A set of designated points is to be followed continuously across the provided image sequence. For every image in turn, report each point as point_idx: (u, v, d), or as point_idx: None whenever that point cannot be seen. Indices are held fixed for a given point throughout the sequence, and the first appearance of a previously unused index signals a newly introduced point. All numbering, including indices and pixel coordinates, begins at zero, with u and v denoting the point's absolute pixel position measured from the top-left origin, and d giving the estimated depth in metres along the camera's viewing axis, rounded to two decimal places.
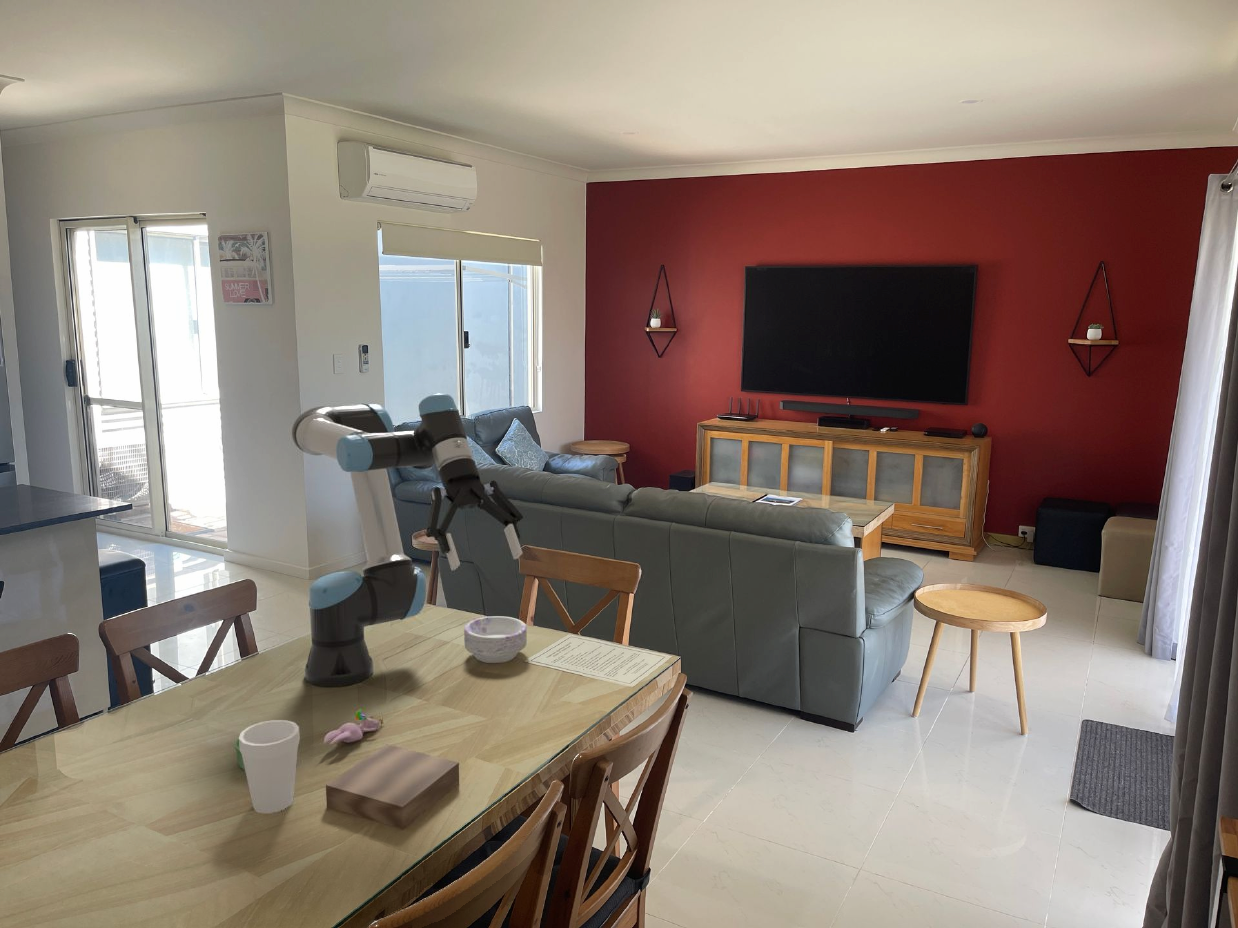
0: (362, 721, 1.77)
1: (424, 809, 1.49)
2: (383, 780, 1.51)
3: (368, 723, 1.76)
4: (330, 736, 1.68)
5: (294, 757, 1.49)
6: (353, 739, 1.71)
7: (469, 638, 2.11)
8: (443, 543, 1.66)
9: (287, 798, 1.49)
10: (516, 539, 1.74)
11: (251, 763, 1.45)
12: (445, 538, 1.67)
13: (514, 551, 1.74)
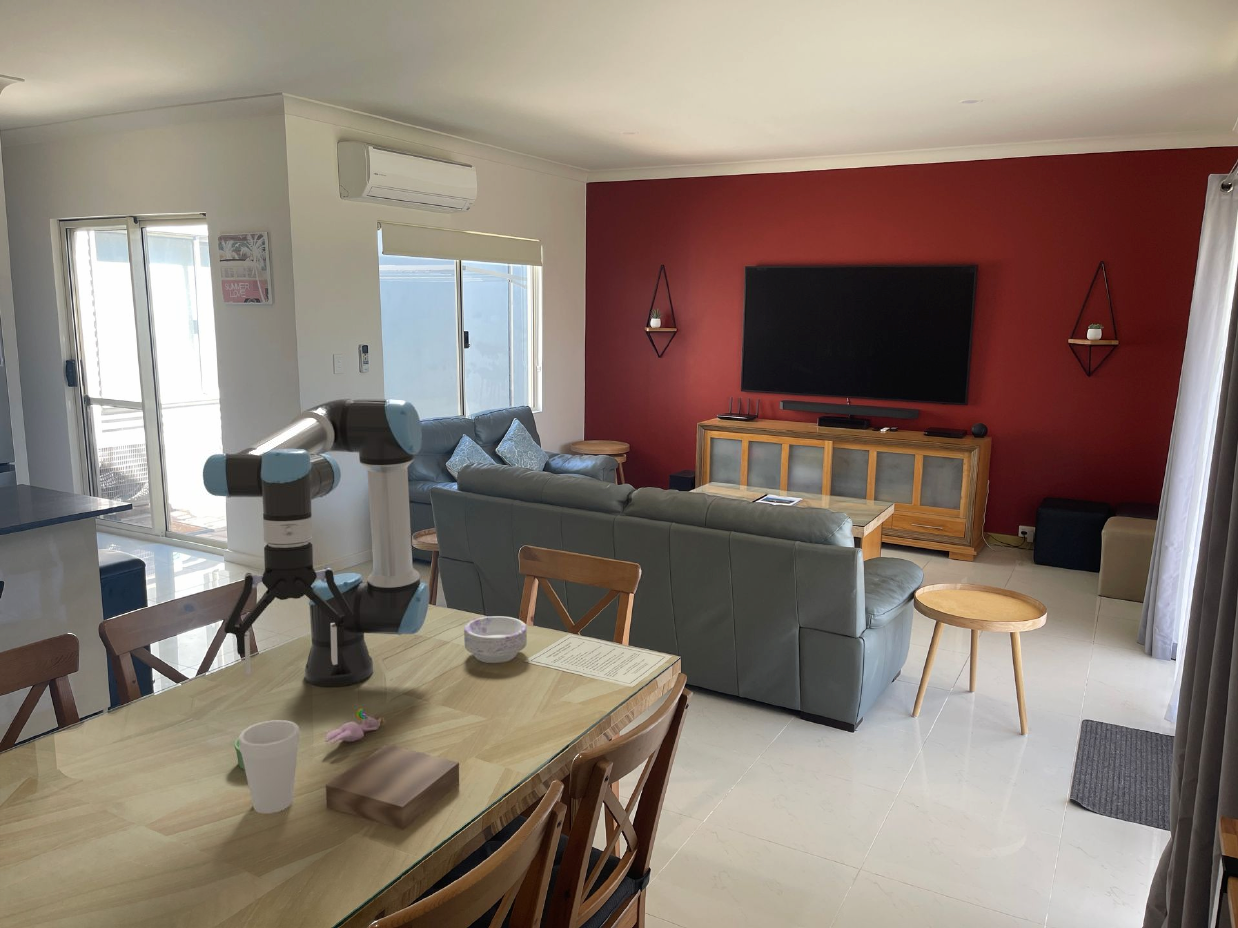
0: (363, 720, 1.77)
1: (424, 809, 1.49)
2: (383, 780, 1.51)
3: (369, 722, 1.76)
4: (332, 735, 1.69)
5: (294, 757, 1.49)
6: (354, 738, 1.71)
7: (469, 638, 2.11)
8: (238, 645, 1.44)
9: (287, 798, 1.49)
10: (335, 646, 1.49)
11: (251, 763, 1.45)
12: (242, 639, 1.44)
13: (331, 655, 1.50)
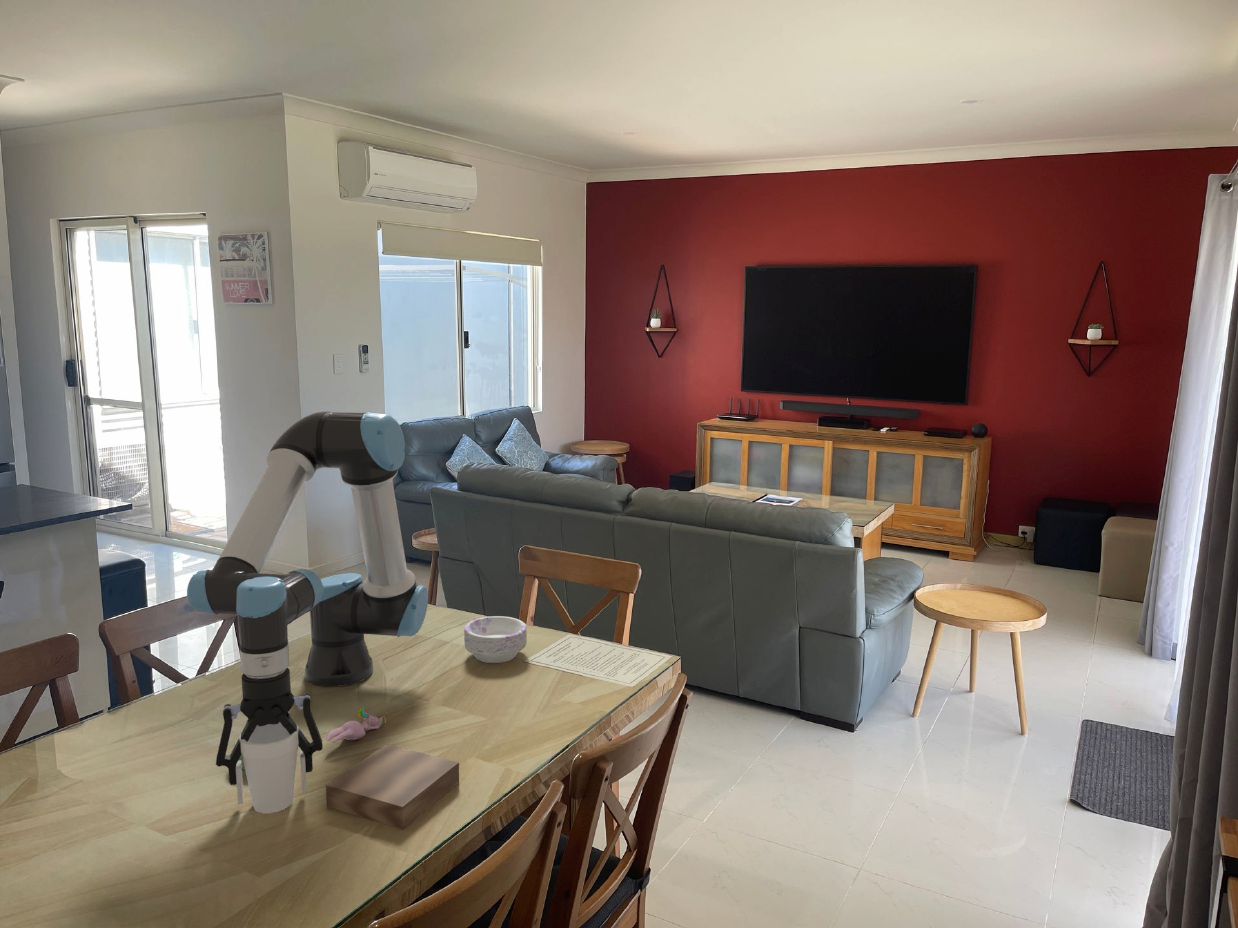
0: (365, 719, 1.77)
1: (424, 809, 1.49)
2: (383, 780, 1.51)
3: (371, 721, 1.77)
4: (333, 734, 1.69)
5: (294, 757, 1.49)
6: (356, 737, 1.72)
7: (469, 638, 2.11)
8: (230, 776, 1.47)
9: (287, 798, 1.49)
10: (303, 776, 1.51)
11: (251, 763, 1.45)
12: (234, 770, 1.47)
13: None
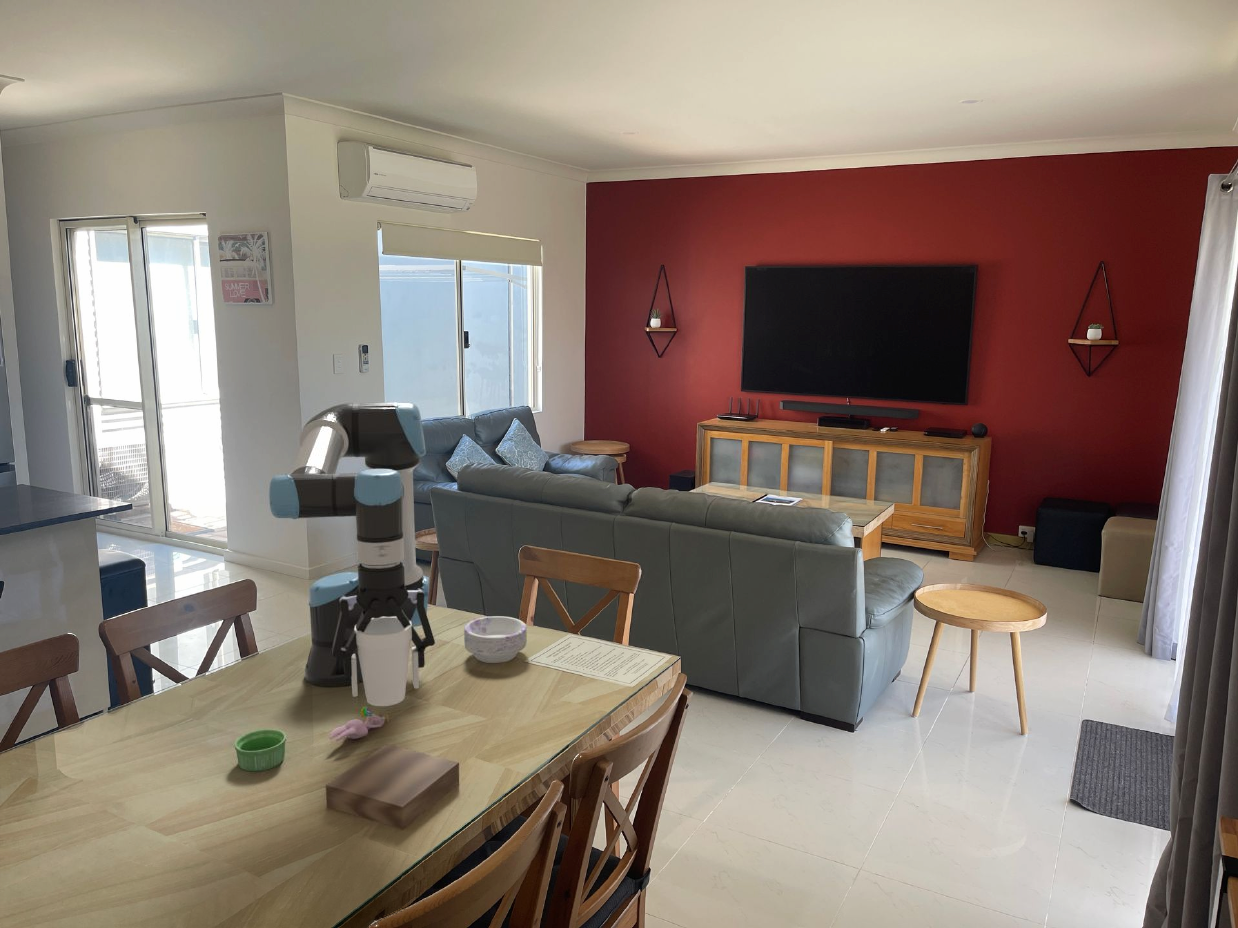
0: (367, 718, 1.78)
1: (424, 809, 1.49)
2: (383, 780, 1.51)
3: (373, 720, 1.78)
4: (336, 732, 1.70)
5: (408, 651, 1.49)
6: (358, 735, 1.72)
7: (469, 638, 2.11)
8: (345, 668, 1.47)
9: (401, 692, 1.49)
10: (416, 671, 1.51)
11: (367, 654, 1.45)
12: (349, 662, 1.47)
13: (413, 678, 1.52)
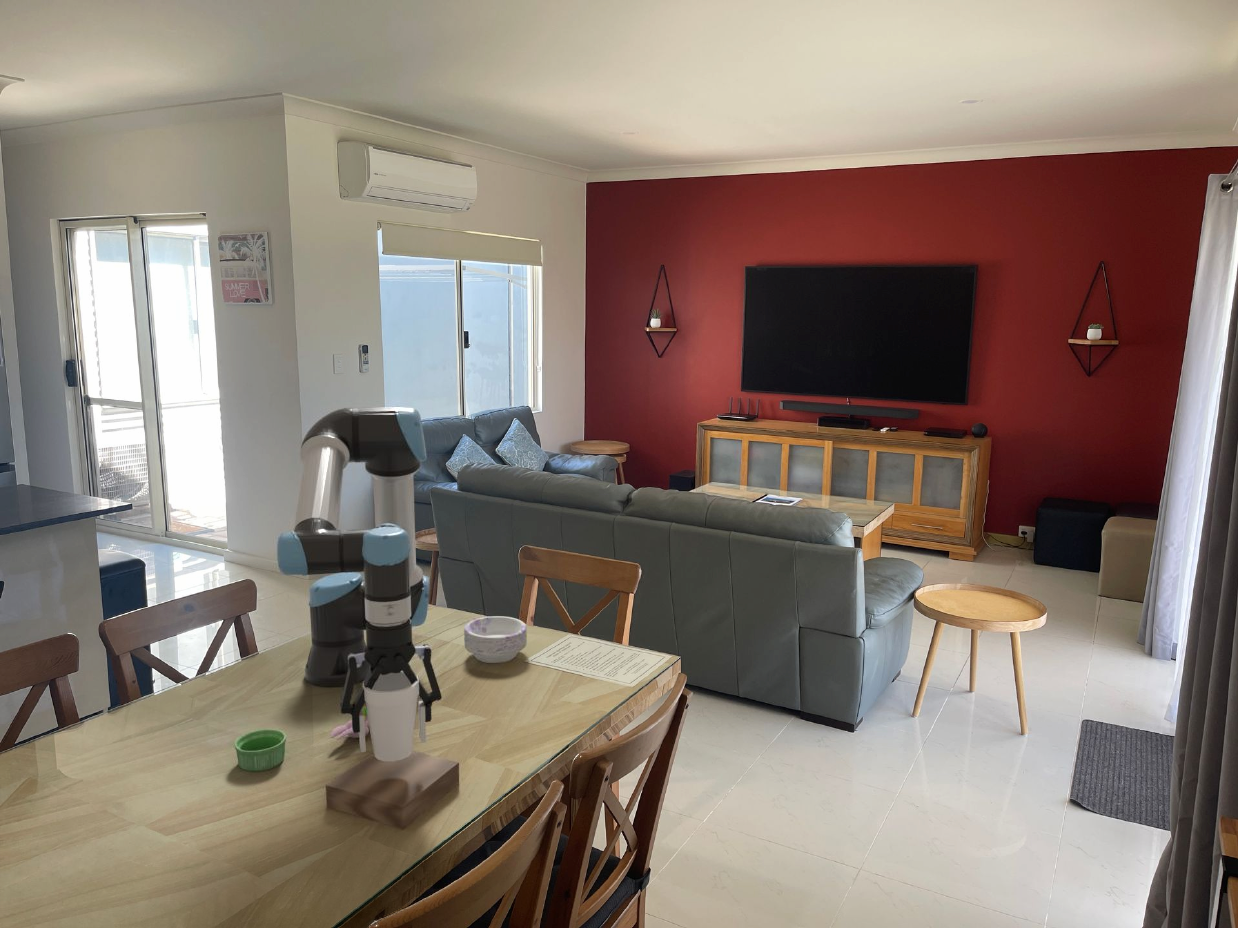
0: None
1: (424, 809, 1.49)
2: (383, 780, 1.51)
3: None
4: (337, 731, 1.70)
5: (415, 706, 1.51)
6: None
7: (469, 638, 2.11)
8: (353, 724, 1.49)
9: (408, 747, 1.51)
10: (423, 725, 1.52)
11: (375, 711, 1.47)
12: (357, 718, 1.49)
13: (420, 732, 1.54)
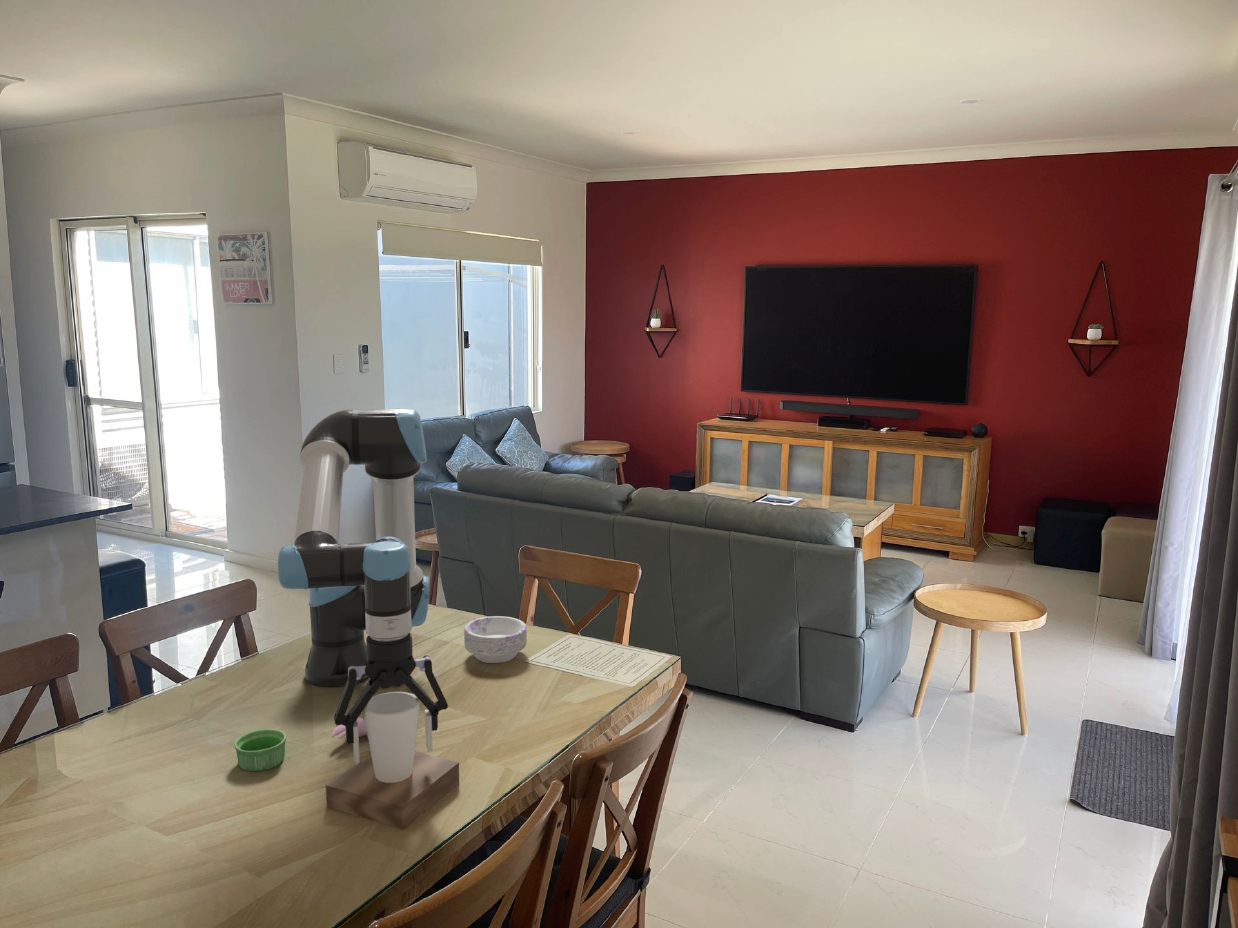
0: None
1: (424, 809, 1.49)
2: None
3: None
4: (338, 730, 1.70)
5: (416, 727, 1.51)
6: (360, 734, 1.73)
7: (469, 638, 2.11)
8: (347, 735, 1.49)
9: (409, 768, 1.52)
10: (430, 734, 1.53)
11: (376, 733, 1.48)
12: (351, 729, 1.49)
13: (426, 741, 1.55)
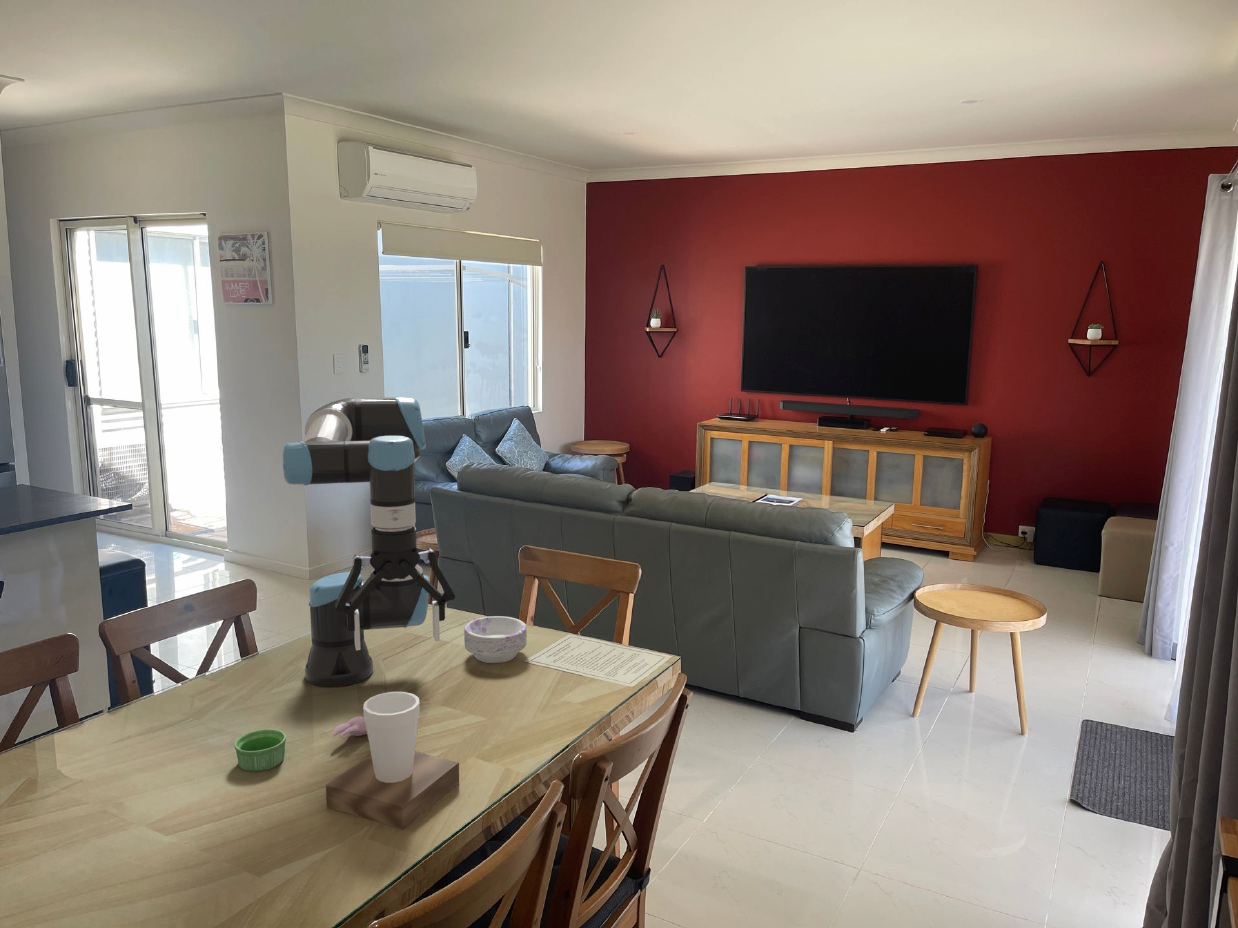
0: None
1: (424, 809, 1.49)
2: None
3: None
4: (339, 729, 1.71)
5: (416, 727, 1.52)
6: (362, 733, 1.74)
7: (469, 638, 2.11)
8: (348, 622, 1.51)
9: (409, 768, 1.52)
10: (437, 624, 1.56)
11: (376, 733, 1.48)
12: (352, 617, 1.51)
13: (433, 631, 1.58)
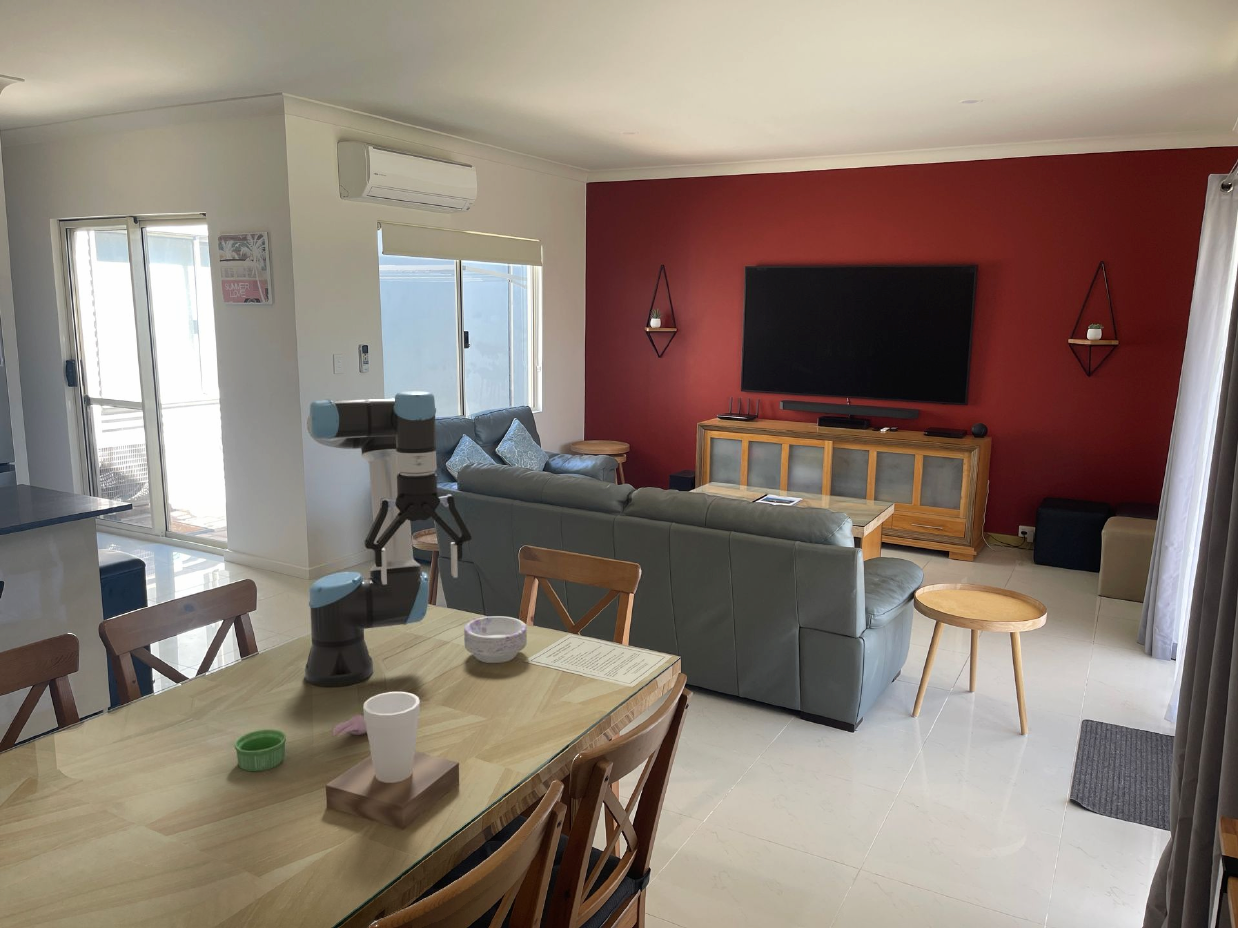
0: None
1: (424, 809, 1.49)
2: None
3: None
4: (339, 728, 1.72)
5: (416, 727, 1.52)
6: (361, 732, 1.74)
7: (469, 638, 2.11)
8: (376, 559, 1.68)
9: (409, 768, 1.52)
10: (455, 562, 1.73)
11: (376, 733, 1.48)
12: (380, 554, 1.68)
13: (452, 570, 1.75)
